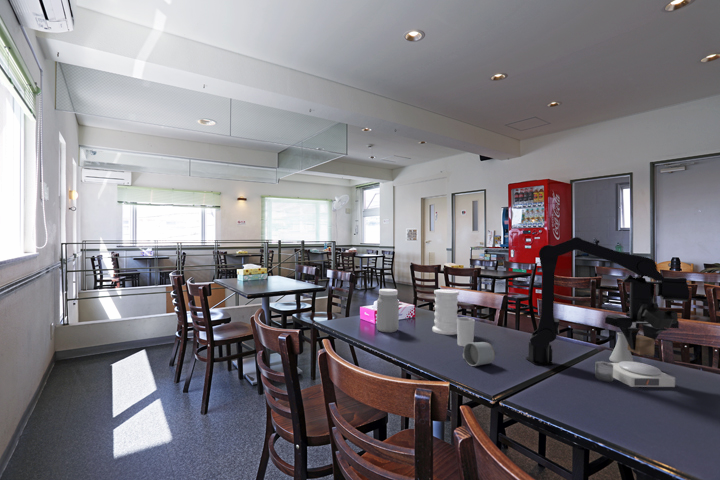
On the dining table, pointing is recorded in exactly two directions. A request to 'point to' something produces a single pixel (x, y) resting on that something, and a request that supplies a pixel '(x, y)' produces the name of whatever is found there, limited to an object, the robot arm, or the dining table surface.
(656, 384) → the kitchen scale
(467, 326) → the drinking glass
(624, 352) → the flask
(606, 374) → the steel weight with knob
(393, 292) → the jar
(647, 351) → the walnut block
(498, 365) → the dining table surface
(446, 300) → the decorative container
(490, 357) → the ceramic mug
